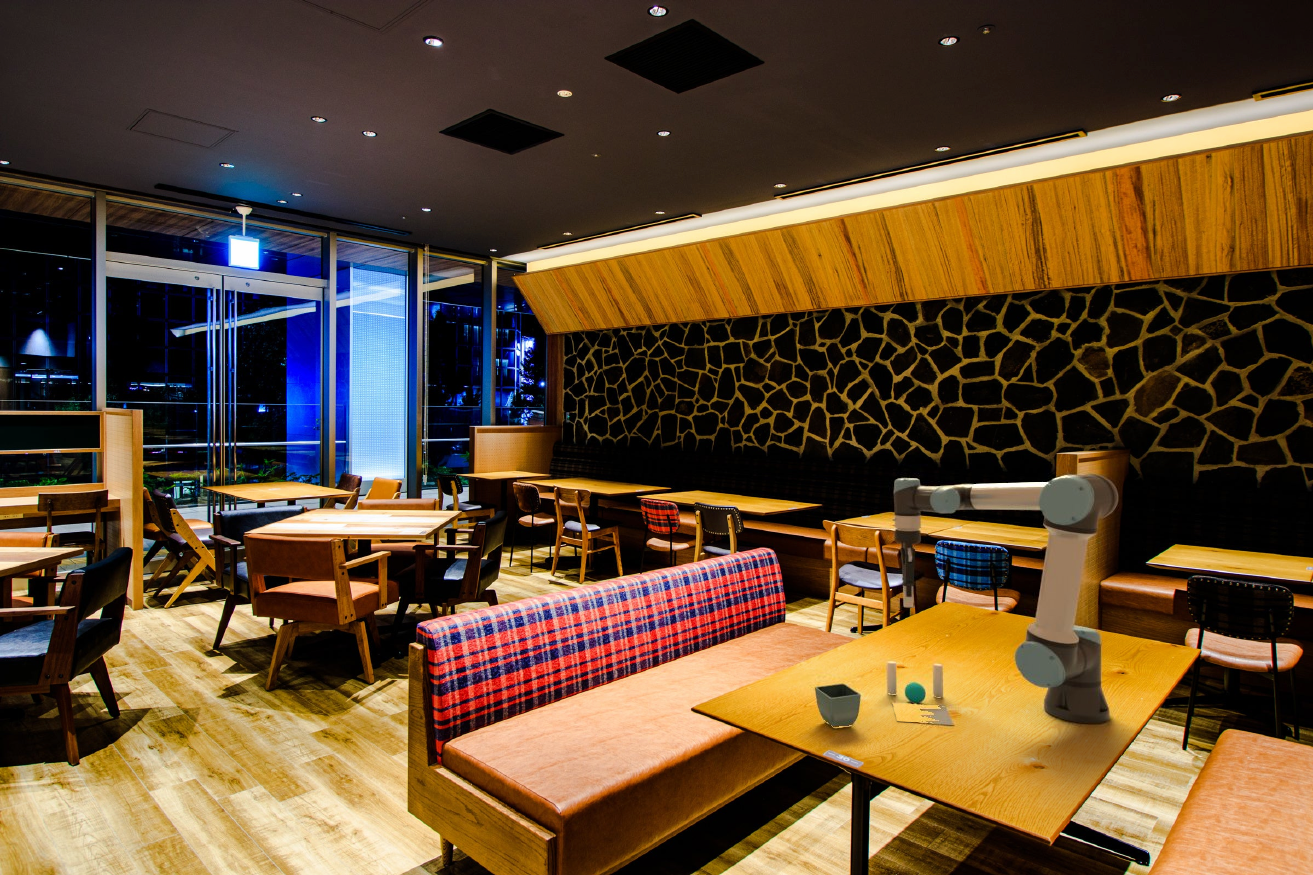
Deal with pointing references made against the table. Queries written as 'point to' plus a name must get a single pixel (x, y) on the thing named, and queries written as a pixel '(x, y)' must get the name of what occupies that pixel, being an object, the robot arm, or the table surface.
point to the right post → (938, 680)
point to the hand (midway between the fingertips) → (908, 606)
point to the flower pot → (838, 704)
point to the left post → (891, 677)
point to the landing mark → (939, 716)
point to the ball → (915, 692)
